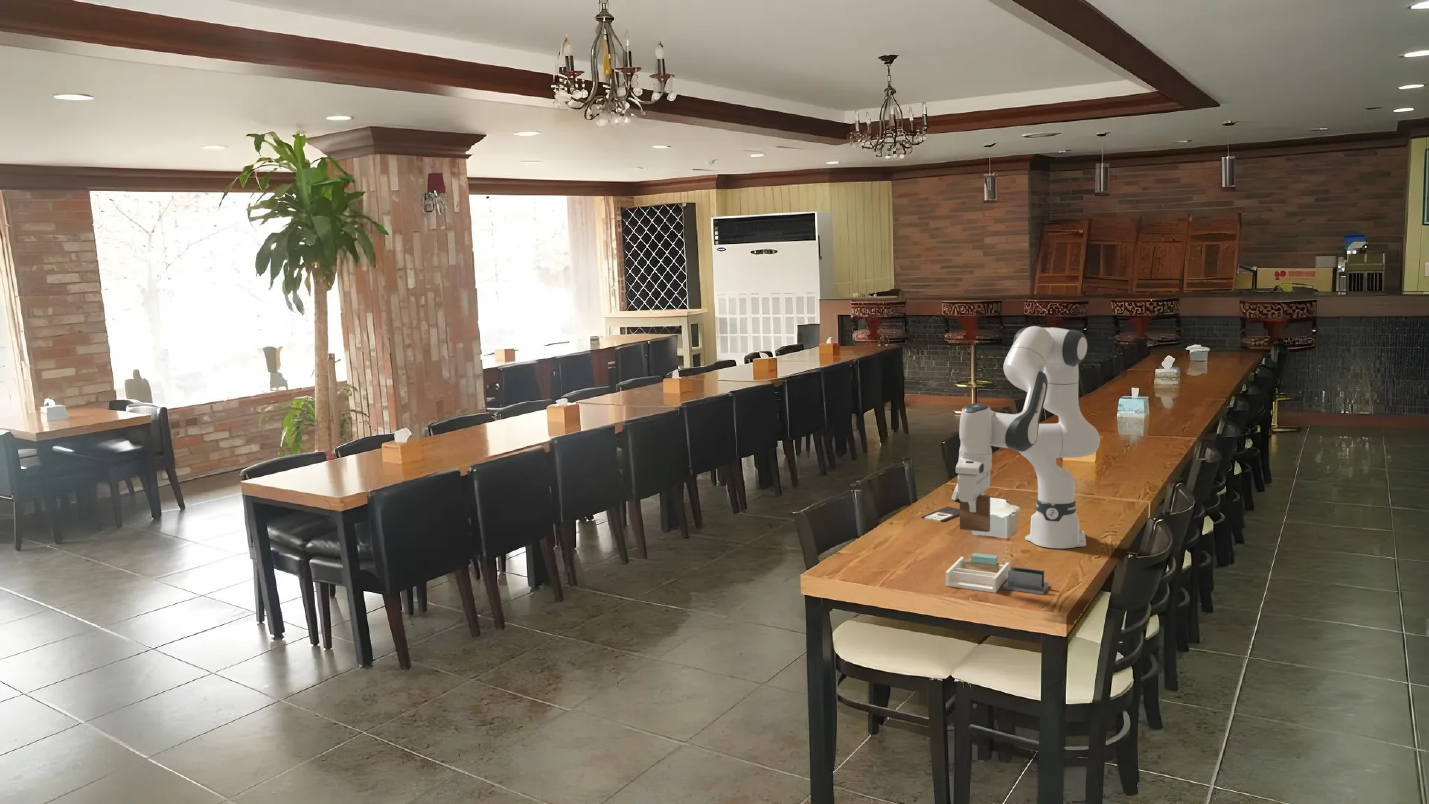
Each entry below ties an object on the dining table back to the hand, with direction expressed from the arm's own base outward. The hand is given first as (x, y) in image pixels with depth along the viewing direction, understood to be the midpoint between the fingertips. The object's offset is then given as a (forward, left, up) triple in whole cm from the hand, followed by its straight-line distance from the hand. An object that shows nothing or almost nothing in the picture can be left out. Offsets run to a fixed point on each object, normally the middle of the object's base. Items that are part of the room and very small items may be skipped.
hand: (974, 510), depth 271 cm
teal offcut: (-9, +1, -18) cm, 20 cm away
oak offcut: (-8, 0, -21) cm, 22 cm away
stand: (-3, +14, -22) cm, 26 cm away
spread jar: (-92, -27, -22) cm, 99 cm away
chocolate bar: (-70, -29, -22) cm, 79 cm away
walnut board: (0, 0, -6) cm, 6 cm away
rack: (-3, 0, -22) cm, 22 cm away
